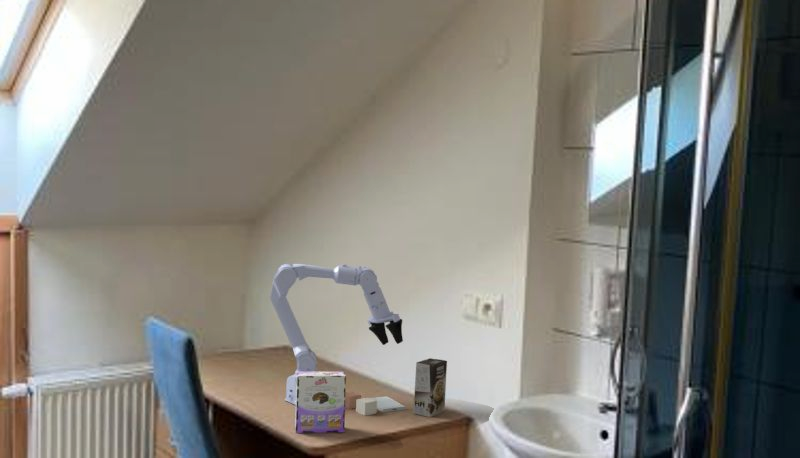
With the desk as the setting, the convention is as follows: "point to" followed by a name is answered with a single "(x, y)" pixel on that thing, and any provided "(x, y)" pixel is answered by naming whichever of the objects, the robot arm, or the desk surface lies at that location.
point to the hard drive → (388, 404)
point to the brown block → (351, 399)
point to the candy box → (320, 402)
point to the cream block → (366, 406)
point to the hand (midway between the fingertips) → (392, 343)
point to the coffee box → (430, 387)
